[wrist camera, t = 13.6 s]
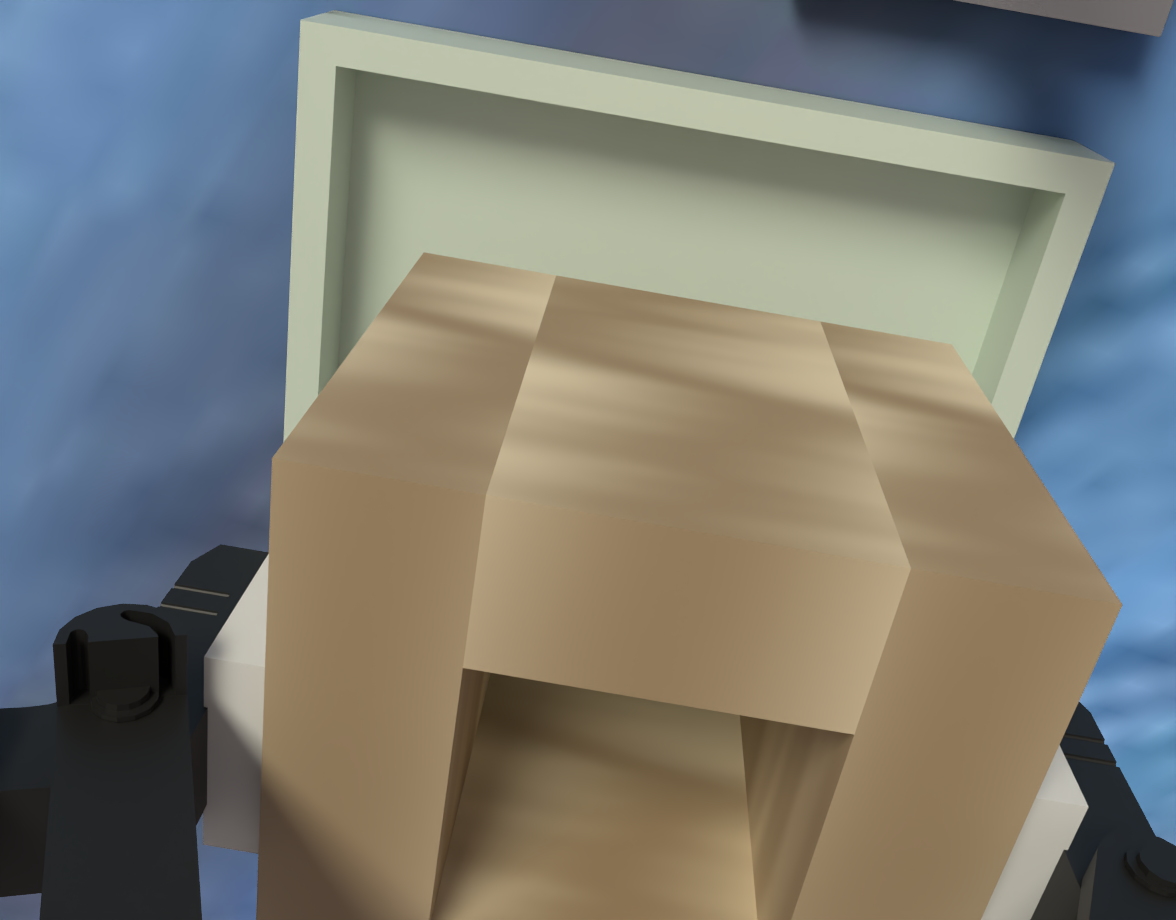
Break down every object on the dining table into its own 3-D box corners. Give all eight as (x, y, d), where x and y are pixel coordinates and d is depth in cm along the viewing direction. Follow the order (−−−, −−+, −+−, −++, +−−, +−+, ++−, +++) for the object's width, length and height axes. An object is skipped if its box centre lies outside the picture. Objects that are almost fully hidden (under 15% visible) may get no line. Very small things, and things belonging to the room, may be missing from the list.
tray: (301, 627, 25) (273, 681, 23) (334, 9, 19) (300, 19, 18) (871, 722, 25) (886, 783, 24) (1073, 140, 20) (1114, 163, 18)
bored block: (383, 679, 20) (252, 1026, 14) (423, 252, 17) (272, 457, 10) (818, 753, 20) (884, 1132, 14) (952, 344, 17) (1122, 604, 10)
